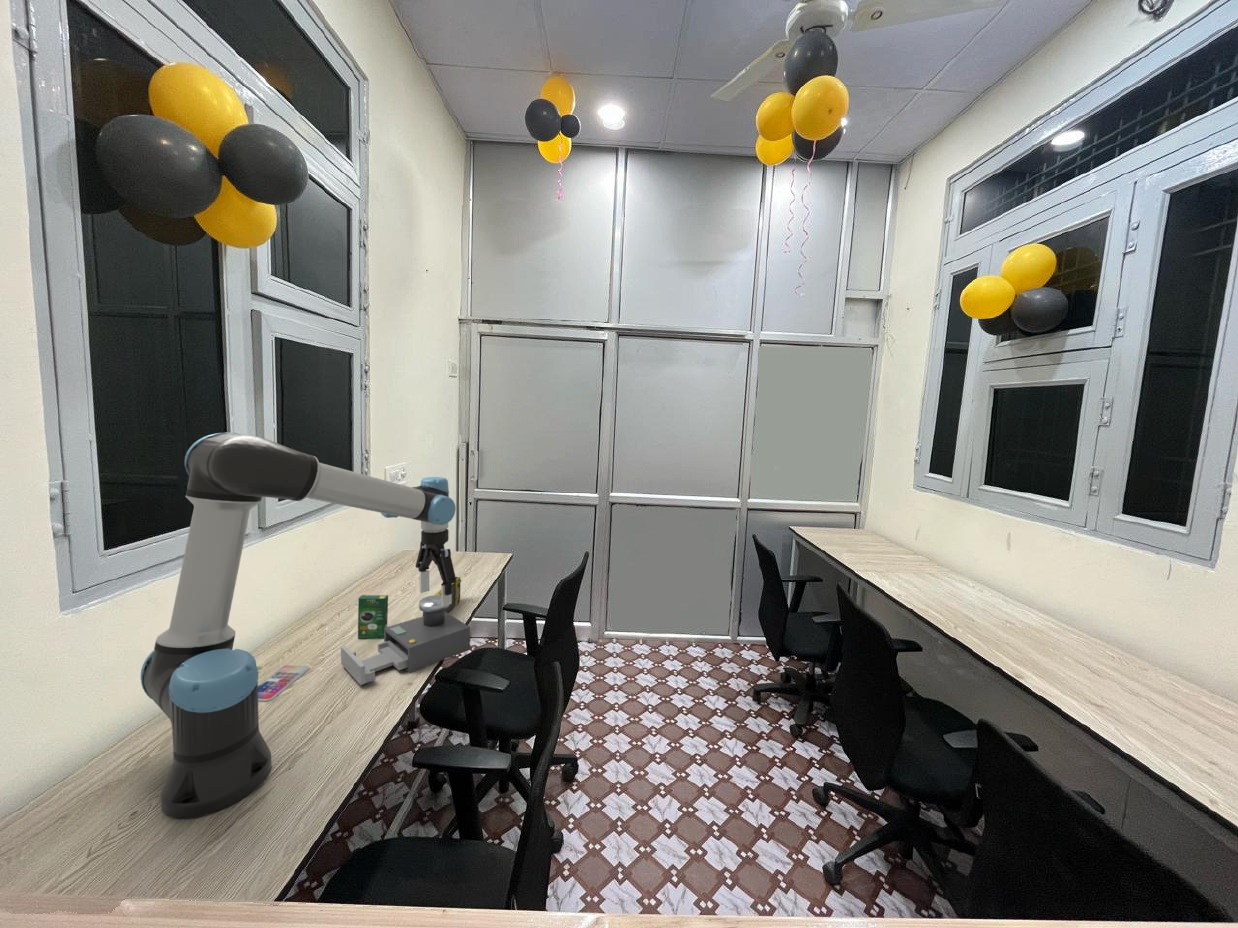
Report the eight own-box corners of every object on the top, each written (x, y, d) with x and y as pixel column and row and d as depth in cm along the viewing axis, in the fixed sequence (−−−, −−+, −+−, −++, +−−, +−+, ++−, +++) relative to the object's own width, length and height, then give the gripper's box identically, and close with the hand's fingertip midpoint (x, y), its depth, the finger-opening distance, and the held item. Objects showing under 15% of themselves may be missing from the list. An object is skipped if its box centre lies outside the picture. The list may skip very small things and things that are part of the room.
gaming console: (432, 632, 144) (433, 602, 143) (420, 632, 144) (420, 602, 143) (463, 601, 169) (464, 575, 168) (452, 600, 169) (453, 575, 168)
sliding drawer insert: (360, 685, 112) (360, 666, 112) (341, 663, 122) (340, 646, 121) (428, 659, 126) (428, 643, 125) (406, 641, 135) (406, 626, 134)
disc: (427, 614, 129) (427, 608, 129) (414, 605, 135) (414, 600, 135) (454, 606, 136) (454, 600, 135) (440, 598, 141) (440, 592, 141)
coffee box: (388, 634, 141) (388, 594, 140) (385, 638, 138) (385, 597, 137) (361, 635, 140) (361, 594, 139) (357, 639, 137) (357, 598, 136)
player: (409, 672, 121) (409, 630, 120) (384, 650, 131) (384, 611, 130) (469, 649, 134) (470, 610, 133) (442, 631, 145) (443, 595, 144)
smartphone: (312, 665, 121) (270, 700, 106) (312, 669, 121) (270, 703, 106) (284, 664, 121) (238, 698, 106) (284, 667, 121) (238, 702, 106)
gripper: (468, 535, 128) (468, 606, 130) (427, 519, 144) (427, 583, 146) (443, 540, 122) (444, 614, 124) (403, 523, 138) (404, 589, 140)
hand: (435, 598), depth 135 cm, fingers open, 13 cm apart
